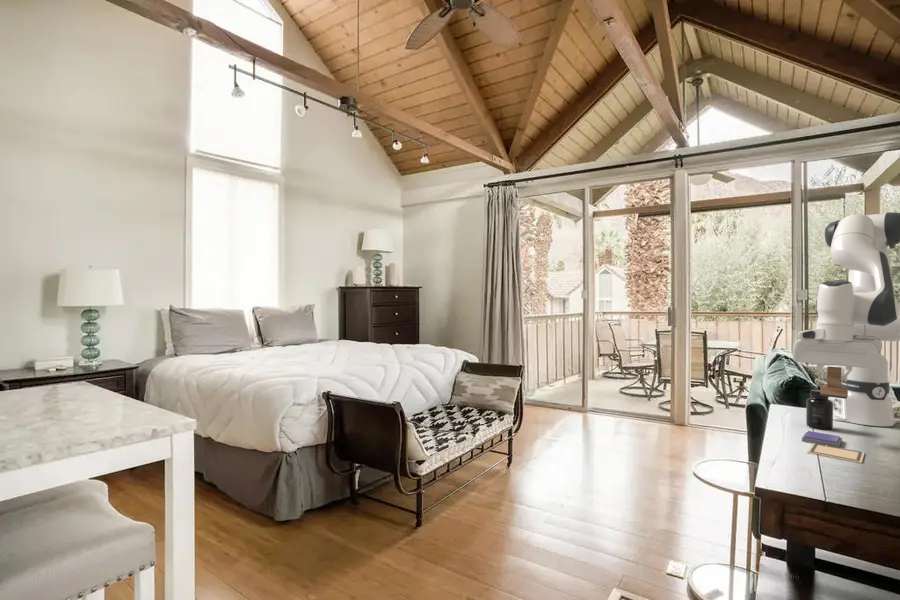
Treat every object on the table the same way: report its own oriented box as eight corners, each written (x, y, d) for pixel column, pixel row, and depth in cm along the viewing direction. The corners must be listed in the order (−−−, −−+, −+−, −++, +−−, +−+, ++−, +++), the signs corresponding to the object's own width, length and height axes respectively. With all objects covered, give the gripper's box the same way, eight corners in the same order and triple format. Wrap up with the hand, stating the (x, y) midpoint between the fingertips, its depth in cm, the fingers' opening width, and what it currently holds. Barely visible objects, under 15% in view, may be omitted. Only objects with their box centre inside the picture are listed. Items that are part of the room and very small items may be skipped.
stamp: (822, 393, 143) (822, 365, 143) (847, 396, 139) (848, 367, 139) (820, 395, 139) (820, 367, 139) (846, 398, 135) (846, 369, 135)
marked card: (813, 444, 133) (813, 442, 133) (864, 453, 125) (864, 451, 125) (807, 452, 125) (807, 451, 125) (861, 463, 118) (861, 461, 118)
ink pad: (806, 435, 142) (806, 430, 142) (842, 441, 136) (842, 436, 136) (801, 441, 136) (801, 436, 136) (839, 448, 130) (839, 442, 130)
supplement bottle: (838, 429, 149) (839, 392, 149) (821, 431, 147) (822, 393, 147) (816, 424, 155) (817, 388, 155) (800, 425, 154) (801, 389, 154)
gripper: (882, 336, 134) (881, 383, 134) (795, 331, 149) (794, 375, 148) (881, 337, 130) (880, 386, 130) (791, 332, 144) (791, 377, 144)
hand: (834, 380), depth 139 cm, fingers closed on stamp, 3 cm apart
